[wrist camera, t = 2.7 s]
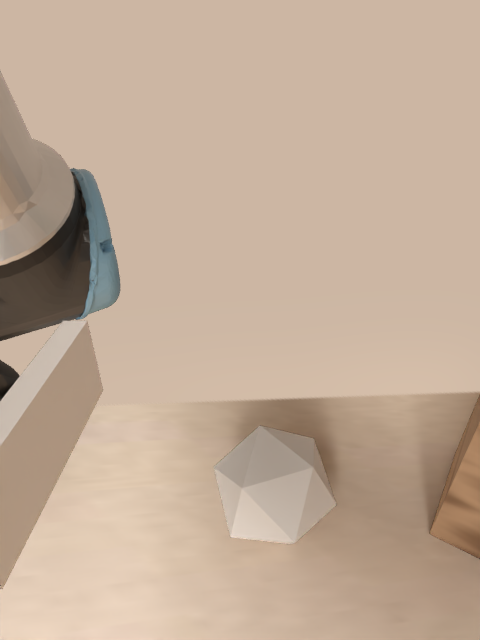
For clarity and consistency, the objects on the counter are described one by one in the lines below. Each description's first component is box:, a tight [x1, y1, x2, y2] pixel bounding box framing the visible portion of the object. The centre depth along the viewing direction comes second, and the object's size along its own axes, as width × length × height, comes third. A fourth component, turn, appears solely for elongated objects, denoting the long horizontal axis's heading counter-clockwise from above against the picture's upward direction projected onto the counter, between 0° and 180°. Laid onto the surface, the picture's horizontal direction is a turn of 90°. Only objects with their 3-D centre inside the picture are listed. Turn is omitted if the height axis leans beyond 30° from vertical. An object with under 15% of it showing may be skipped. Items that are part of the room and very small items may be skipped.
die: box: [214, 425, 337, 544], centre depth 34 cm, size 8×9×10 cm
